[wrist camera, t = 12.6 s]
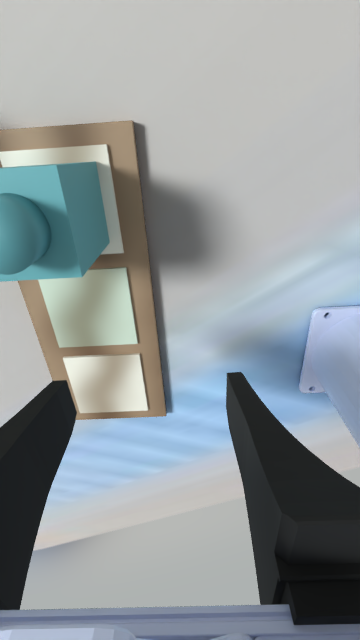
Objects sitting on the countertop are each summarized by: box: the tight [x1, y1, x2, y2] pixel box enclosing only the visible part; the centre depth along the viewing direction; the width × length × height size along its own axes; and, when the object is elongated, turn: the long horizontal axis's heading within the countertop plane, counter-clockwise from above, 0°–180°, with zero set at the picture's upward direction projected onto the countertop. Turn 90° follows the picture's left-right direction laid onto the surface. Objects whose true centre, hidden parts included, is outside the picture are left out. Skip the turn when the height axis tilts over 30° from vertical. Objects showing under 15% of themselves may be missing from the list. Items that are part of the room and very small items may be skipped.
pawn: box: [0, 161, 110, 281], centre depth 14 cm, size 4×4×8 cm
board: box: [0, 121, 166, 420], centre depth 21 cm, size 9×22×1 cm, turn 3°
